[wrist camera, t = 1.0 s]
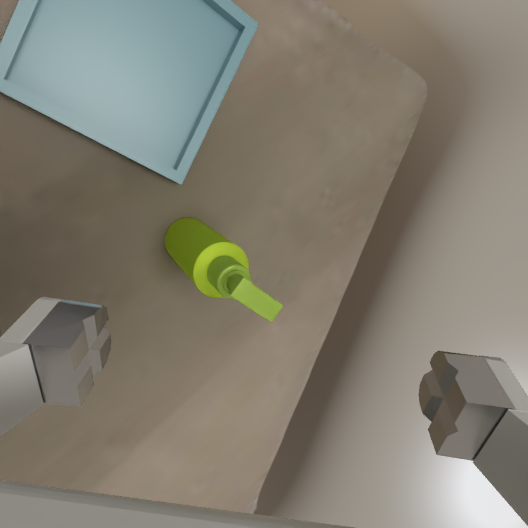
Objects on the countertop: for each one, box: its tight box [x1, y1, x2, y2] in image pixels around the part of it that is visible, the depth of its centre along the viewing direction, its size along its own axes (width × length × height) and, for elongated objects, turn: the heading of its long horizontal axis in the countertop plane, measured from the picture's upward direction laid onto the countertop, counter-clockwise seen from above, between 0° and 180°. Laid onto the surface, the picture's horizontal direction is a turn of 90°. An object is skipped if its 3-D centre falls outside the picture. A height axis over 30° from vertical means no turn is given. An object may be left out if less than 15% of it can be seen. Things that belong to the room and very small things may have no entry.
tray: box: [0, 0, 259, 185], centre depth 41 cm, size 20×20×2 cm
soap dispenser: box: [165, 218, 283, 322], centre depth 42 cm, size 6×7×20 cm
